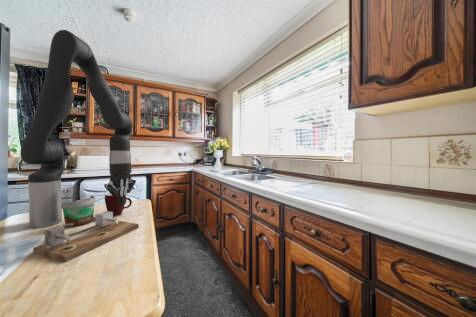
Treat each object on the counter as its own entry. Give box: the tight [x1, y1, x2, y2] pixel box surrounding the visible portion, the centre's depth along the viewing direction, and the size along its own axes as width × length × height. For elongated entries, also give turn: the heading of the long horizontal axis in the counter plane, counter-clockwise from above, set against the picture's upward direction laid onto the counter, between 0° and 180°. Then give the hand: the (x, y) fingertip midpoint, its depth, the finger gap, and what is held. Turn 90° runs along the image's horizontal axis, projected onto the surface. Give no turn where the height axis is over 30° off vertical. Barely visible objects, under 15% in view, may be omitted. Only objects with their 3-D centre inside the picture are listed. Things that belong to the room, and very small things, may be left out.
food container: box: [61, 195, 97, 228], centre depth 77 cm, size 12×6×10 cm, turn 168°
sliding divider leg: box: [94, 210, 119, 227], centre depth 70 cm, size 8×4×4 cm, turn 72°
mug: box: [104, 192, 133, 217], centre depth 88 cm, size 10×8×10 cm
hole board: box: [32, 220, 140, 263], centre depth 64 cm, size 14×24×6 cm, turn 162°
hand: (121, 204), depth 77 cm, fingers closed
